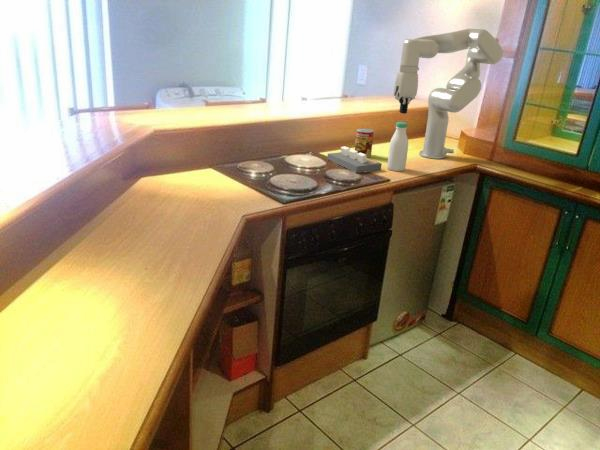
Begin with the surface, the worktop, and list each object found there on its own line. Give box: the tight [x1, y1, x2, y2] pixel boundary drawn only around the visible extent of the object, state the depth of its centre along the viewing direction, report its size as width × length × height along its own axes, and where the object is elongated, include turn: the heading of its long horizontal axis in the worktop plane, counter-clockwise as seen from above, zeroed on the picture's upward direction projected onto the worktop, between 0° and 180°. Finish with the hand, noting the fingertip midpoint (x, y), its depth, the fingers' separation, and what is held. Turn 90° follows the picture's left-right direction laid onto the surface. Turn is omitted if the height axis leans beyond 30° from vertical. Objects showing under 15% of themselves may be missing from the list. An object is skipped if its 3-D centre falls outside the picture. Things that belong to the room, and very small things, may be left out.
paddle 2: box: [357, 152, 367, 163], centre depth 207 cm, size 2×4×3 cm, turn 30°
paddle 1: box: [340, 145, 351, 156], centre depth 216 cm, size 2×4×3 cm, turn 30°
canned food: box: [354, 128, 374, 159], centre depth 227 cm, size 8×8×12 cm
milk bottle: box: [386, 121, 409, 172], centre depth 207 cm, size 8×8×20 cm
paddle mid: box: [349, 148, 358, 160], centre depth 211 cm, size 2×4×3 cm, turn 30°
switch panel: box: [327, 151, 383, 173], centre depth 213 cm, size 13×22×3 cm, turn 30°
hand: (403, 112), depth 217 cm, fingers closed
